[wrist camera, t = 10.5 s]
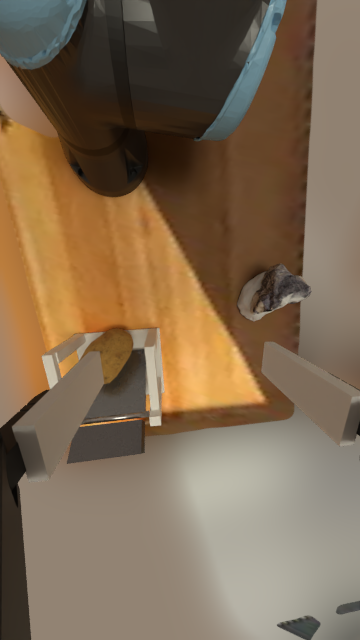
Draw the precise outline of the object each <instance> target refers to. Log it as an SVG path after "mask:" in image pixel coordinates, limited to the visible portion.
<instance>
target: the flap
mask: <svg viewBox="0 0 360 640" xmlns="http://www.w3.org/2000/svg"><path fill="white" fill-rule="evenodd" d="M142 417H149V411H146V357H145V350H144V349H140V350H132V352H131V354H130V357H129V358H128V360H127V361H126V363H125V365H124V366H123V368H122V369H121V371H120V372H119V374H118V375H117V376H116V378H114V379H113V380H112V381H111V382H110V383H107V384H103V386H102V388H101V390H100V392H99V393H98V395H97V397H96V399H95V400H94V402H93V404H92V406H91V407H90V409H89V411H88V413H87V414H86V416H85V418H84V420H83V421H82V423H81V425H82V424H91V423H100V422H108V421H117V420H125V419H134V418H142ZM142 453H145V422H144V421H143V420H136V421H127V422H119V423H110V424H102V425H93V426H85V427H79V428H78V430H77V432H76V434H75V435H74V437H73V439H72V443H71V447H70V452H69V456H68V461H67V464H68V463H76V462H83V461H91V460H97V459H105V458H112V457H120V456H128V455H135V454H142Z"/></svg>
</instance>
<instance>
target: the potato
mask: <svg viewBox="0 0 360 640" xmlns="http://www.w3.org/2000/svg"><path fill="white" fill-rule="evenodd" d="M132 349H133V339H132V336H131V334H129V333H128V332H127V331H125V330H124V329H118V328H113V329H111V330H108V331H106V332H105V333H104V334H102V335H101V336H100V337H98V338H97V339H96V340H94V341H93V342H91V343H90V344H89V346H88V347H87V348H86V350H85V352H84V353H83V355H82V357H81V359H82V358H83V357H84V356H85V355H86V354H87V353H88V352H94V351H100V357H101V365H102V372H103V379H104V384H107V383H110V382H111V381H112V380H113V379H114V378H116V376H117V375H118V374H119V372H120V371H121V369H122V368H123V366H124V365H125V363H126V361H127V360H128V358H129V357H130V354H131V352H132ZM81 359H80V360H81ZM80 360H79V361H80Z"/></svg>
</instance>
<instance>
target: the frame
mask: <svg viewBox="0 0 360 640" xmlns="http://www.w3.org/2000/svg"><path fill="white" fill-rule="evenodd" d="M125 331H127V332H128V333H129V334H131V336H132V339H133V349H132V350H140V349H144V350H145V357H146V395H147V394H149V395H150V405H151V406H150V416H149V419H150V426H157V425H161V399H162V393H164V380H163V368H162V355H161V343H160V331H159V328H148V329H135V330H125ZM104 333H105V332H94V333H81V334H74V336H73V337H71V338H69V339H68V340H66V341H64V342H63V343H61V344H59V345H58V346H56V347H54V348H53V349H51V350H49V351H48V352H46V353H45V354H44V355H42V359H43V363H44V367H45V371H46V375H47V378H48V383H49V386H50V389H51V388H52V387H53V386H54V385H55V384H56V383H57V382H58V381H60V380H61V379H62V378H61V374H60V370H59V365H58V363H60V362H61V361H62V360H64V359H65V358H66V357H68V356H69V355H70V354H71V353H73V352H74V351H75V350H76V349H77V354H78V359H79V360H80V359H81V357H82V355H83V353H84V352H85V350H86V348H87V347H88V346H89V344H90V343H91V342H93V341H94V340H96V339H97V338H98V337H100V336H101V335H102V334H104Z"/></svg>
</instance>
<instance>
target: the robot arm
mask: <svg viewBox="0 0 360 640" xmlns="http://www.w3.org/2000/svg"><path fill="white" fill-rule="evenodd" d="M286 1H287V0H0V54H1V56H2V57H4V58H5V60H6V61H7V63H8V64H9V65H10V67H11V68H12V70H13V71H14V72H15V74H16V75H17V76H18V78H19V79H20V81H21V82H22V83H23V85H24V86H25V87H26V89H27V90H28V92H29V93H30V94H31V96H32V97H33V98H34V100H35V101H36V103H37V104H38V105H39V107H40V108H41V110H42V111H43V112H44V113H45V115H46V116H47V118H48V119H49V120H50V122H51V123H52V125H53V126H54V127H55V129H56V130H57V132H58V136H59V139H60V142H61V145H62V148H63V151H64V154H65V156H66V159H67V161H68V163H69V164H70V166H71V168H72V169H73V171H74V172H75V173H76V175H77V176H78V177H79V178H80V180H81V181H82V182H83V183H84V184H85V185H86V186H87V187H89V188H90V189H91V190H93V191H95V192H97V193H99V194H101V195H104V196H110V197H118V196H123V195H126V194H128V193H130V192H131V191H133V190H134V189H135V188H136V187H137V186H138V185H139V184H140V183H141V181H142V179H143V178H144V175H145V173H146V169H147V164H148V150H147V142H146V137H145V133H144V131H146V132H153V133H159V134H166V135H172V136H179V137H185V138H192V139H193V140H194V141H201V140H214V141H220V140H224V139H225V138H227V137H228V136H229V135H230V134H232V133H233V132H234V131H235V129H236V128H237V127H238V125H239V124H240V122H241V121H242V119H243V117H244V116H245V114H246V112H247V110H248V108H249V106H250V104H251V102H252V100H253V98H254V96H255V93H256V91H257V89H258V87H259V84H260V82H261V79H262V77H263V74H264V72H265V69H266V67H267V64H268V61H269V58H270V56H271V53H272V50H273V47H274V43H275V40H276V36H275V32H276V30H277V28H278V25H279V23H280V21H281V18H282V16H283V13H284V9H285V5H286ZM261 372H262V373H263V374H264V375H265V376H266V377H267V378H268V379H269V380H270V381H271V382H272V383H273V384H274V385H275V386H276V387H277V388H278V389H280V390H281V391H282V392H283V393H284V394H285V395H286V396H287V397H288V398H289V399H290V400H291V401H292V402H293V403H294V404H295V405H296V406H298V407H299V408H300V409H301V410H302V411H303V412H304V413H305V414H306V415H307V416H308V417H309V418H310V419H311V420H312V421H313V422H314V423H315V424H316V425H318V426H319V427H320V428H321V429H322V430H323V431H324V432H325V433H326V434H327V435H328V436H329V437H330V438H331V439H332V440H333V441H334V442H335V443H337V444H338V445H339V446H345V445H354V442H355V438H356V435H357V434H358V435H359V436H360V390H359V389H357V388H355V387H354V386H352V385H350V384H348V383H346V382H345V381H343V380H340V379H339V378H338V377H336V376H334V375H332V374H330V373H327V372H326V371H324V370H322V369H320V368H319V367H317V366H315V365H313V364H312V363H310V362H308V361H306V360H305V359H303V358H301V357H299V356H297V355H296V354H294V353H292V352H290V351H289V350H287V349H285V348H283V347H282V346H280V345H278V344H276V343H275V342H265V344H264V353H263V362H262V371H261ZM103 384H104V379H103V372H102V365H101V357H100V351H94V352H88V353H87V354H86V355H85V356H84V357H83V358H82V359H81V360H80V361H79V362H78V363H77V364H76V365H75V366H74V367H73V368H72V369H71V370H70V371H69V372H68V373H67V374H66V375H65V376H64V377H63V378H62V379H61V380H60V381H58V382H57V383H56V384H55V385H54V386H53V387H52V388H51V389H50V390H45V391H43V392H42V393H40V394H38V395H37V396H35V397H34V398H33V399H32V400H31V401H30V402H29V403H28V404H27V405H25V406H24V407H23V408H22V409H21V410H20V412H18V413H17V414H16V415H14V416H13V417H12V418H11V419H10V420H9V421H8V422H7V423H6V424H5V425H3V426H2V427H1V428H0V640H31V632H30V618H29V606H28V594H27V580H26V567H25V554H24V543H23V528H22V515H21V503H20V490H19V486H18V481H19V480H20V479H21V477H22V476H23V474H24V473H25V472H26V474H27V478H28V481H29V482H38V481H47V480H49V479H50V477H51V475H52V474H53V472H54V471H55V469H56V467H57V465H58V464H59V462H60V460H61V458H62V456H63V455H64V453H65V451H66V449H67V448H68V446H69V444H70V442H71V441H72V439H73V437H74V435H75V434H76V432H77V430H78V428H79V427H80V425H81V423H82V421H83V420H84V418H85V416H86V414H87V413H88V411H89V409H90V407H91V406H92V404H93V402H94V400H95V399H96V397H97V395H98V393H99V392H100V390H101V388H102V386H103Z"/></svg>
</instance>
